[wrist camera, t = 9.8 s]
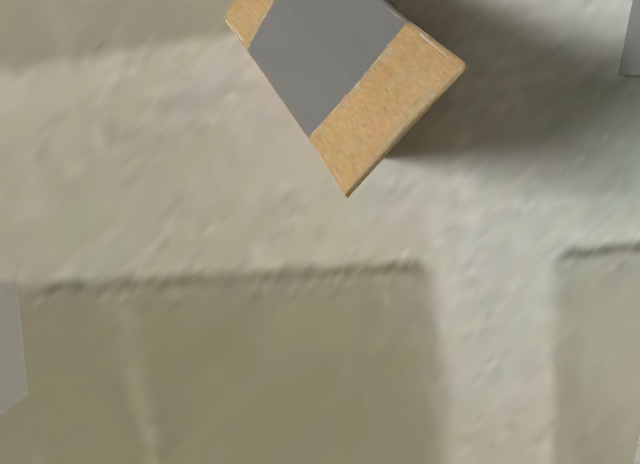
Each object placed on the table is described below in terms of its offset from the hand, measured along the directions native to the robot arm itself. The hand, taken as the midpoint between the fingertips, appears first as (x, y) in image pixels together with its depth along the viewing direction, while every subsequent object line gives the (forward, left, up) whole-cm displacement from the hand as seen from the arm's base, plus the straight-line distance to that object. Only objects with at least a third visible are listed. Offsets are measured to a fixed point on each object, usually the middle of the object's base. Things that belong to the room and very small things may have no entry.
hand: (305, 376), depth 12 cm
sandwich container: (-8, -5, -33) cm, 34 cm away
